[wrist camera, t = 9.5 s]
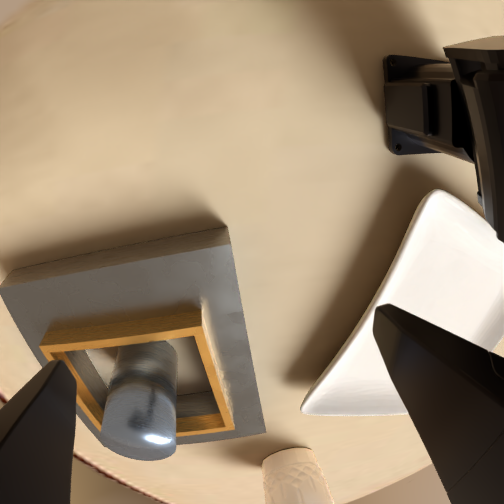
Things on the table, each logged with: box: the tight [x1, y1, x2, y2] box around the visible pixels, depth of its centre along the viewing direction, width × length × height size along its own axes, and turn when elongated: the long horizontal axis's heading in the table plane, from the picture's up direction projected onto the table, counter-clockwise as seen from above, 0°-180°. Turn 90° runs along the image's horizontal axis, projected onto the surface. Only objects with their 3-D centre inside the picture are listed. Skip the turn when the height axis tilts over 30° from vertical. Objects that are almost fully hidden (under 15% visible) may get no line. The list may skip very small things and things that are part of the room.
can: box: [100, 340, 178, 461], centre depth 20 cm, size 5×5×8 cm
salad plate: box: [300, 189, 504, 416], centre depth 25 cm, size 21×21×3 cm
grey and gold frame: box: [0, 227, 266, 447], centre depth 22 cm, size 16×19×4 cm
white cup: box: [262, 448, 335, 504], centre depth 30 cm, size 8×8×10 cm
